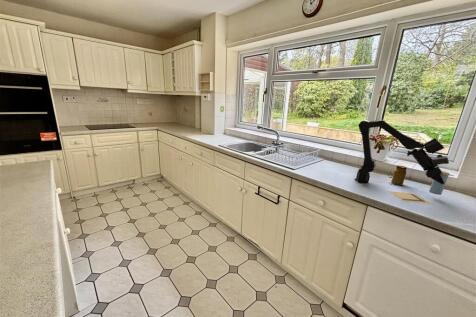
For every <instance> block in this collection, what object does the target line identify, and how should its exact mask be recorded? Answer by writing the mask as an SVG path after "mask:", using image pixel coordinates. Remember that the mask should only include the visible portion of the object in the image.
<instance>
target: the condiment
mask: <svg viewBox="0 0 476 317" xmlns="http://www.w3.org/2000/svg"><path fill="white" fill-rule="evenodd" d="M407 169H408V168H407V166H404V165H396V166H395V169H394V171H393V174H392V178H391V181H390V182H389V184H391V185H393V186H398V187H408V185H407V184H404V181H405V178H406V175H407Z"/></svg>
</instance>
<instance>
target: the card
mask: <svg viewBox="0 0 476 317" xmlns="http://www.w3.org/2000/svg"><path fill="white" fill-rule="evenodd" d="M388 193H389V194H391V195H393V196H394V197H396V199H399V200H400V201H401V202H403V203H413V204H427V205H433V203H432V202H430V201H429V200H427V199H426V198H424V197H422V196H420V195H418V194H417V193H415V192H405V191H391V190H388Z"/></svg>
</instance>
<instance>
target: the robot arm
mask: <svg viewBox="0 0 476 317" xmlns="http://www.w3.org/2000/svg"><path fill="white" fill-rule="evenodd" d="M373 128H381V129H383V130H384V131H385V132H386V133H388V134H389V135H391V136H392V137H394V138H395V139H396V140H397V141H398V142H399V143H400V144H401V146H403V147H404V148H405V149H406V150H407V153H406V156H407V157H410V156H412V157H413V158H414V160H415V161H416V162H417V164H418V165H419V166H420V167H421V168H422V169H423V170H422V171H423V172H425V176H426V177H427V178H428V179H432V181H433V180H435V181H437V182H439V183H441V184H445V183H444V181H443V179H442V177H441V173H442V171H443V170H441V168H440V167H439V165H448V164H450V162H449V158H448V156H447V155H442V154H437V155H436V157H431V156H429V154H435V153H437V152H440V151H442V150H443V149H445V146H444V145H443V144H442V143H441V142H440V141H438V139H437V138H435V137H433V138H432V139H430V140H429V141H426V142H420V141H417V140H416V139H414V138H413V137H411V136H409V135H406V134H404V133H403V132H401V131H400V130H398V129H396V128H395V127H394V126H392V125H391V124H390V123H388V122H387V121H385V119H380V120H379V119H378V120H371V121H369V120H366V119H364V120H361V121H360V122H359V123H358V129H359V133H360V134H361V139H362V146H363V147H362V150H363V158H364V159H363V162H362V163H363V164H362V165H361V166H360V167H359V168H358V170H357V172H356V177H355V178H354V180H355V181H356V182H358V184H370V182H369V181H370V178H371V173H372V172H373V171H374V169H375V168H376V167H377V166H376V165H377V164H376V158H373V157H372V148H371V138H370V133H371V132H370V131H371V129H373ZM445 185H446V184H445Z"/></svg>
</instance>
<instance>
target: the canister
mask: <svg viewBox="0 0 476 317" xmlns="http://www.w3.org/2000/svg"><path fill="white" fill-rule="evenodd" d="M441 171H442V173H441V177H442V179H443V181H444V183H445V184H441V183H439V182H437V181H435V180H433V179H432V182H431V185H430V188H429V190H428V192H429V193H431V194H434V195H439V196H441V195H442V194H443V192H444V189H445V185H446V184H447V180H448V178H449V176H450V172H447V171H443V170H441Z"/></svg>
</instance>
